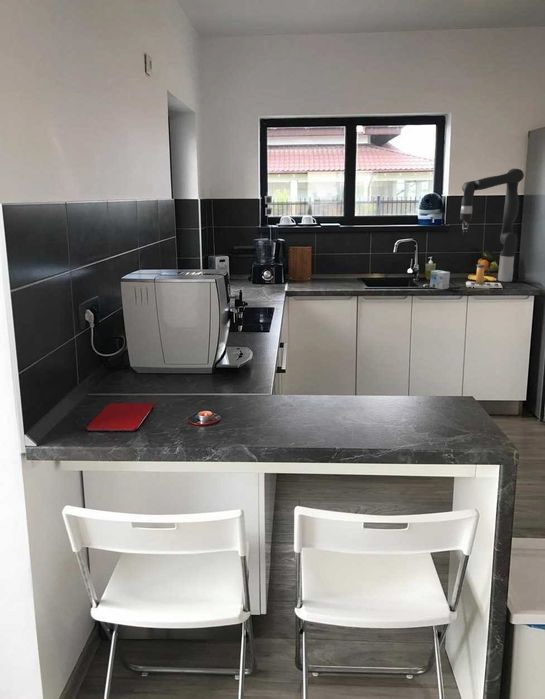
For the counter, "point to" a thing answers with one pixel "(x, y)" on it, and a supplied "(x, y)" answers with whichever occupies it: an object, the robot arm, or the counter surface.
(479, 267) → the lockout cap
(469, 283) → the breaker board
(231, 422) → the counter surface
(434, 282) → the light bulb box
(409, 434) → the counter surface
